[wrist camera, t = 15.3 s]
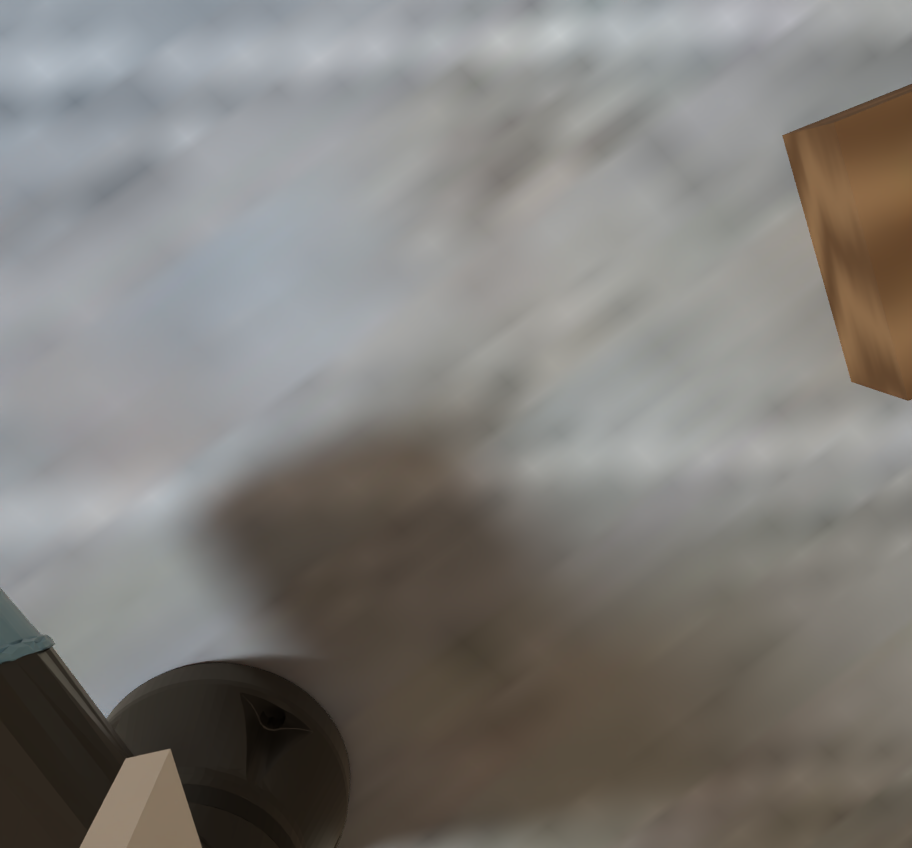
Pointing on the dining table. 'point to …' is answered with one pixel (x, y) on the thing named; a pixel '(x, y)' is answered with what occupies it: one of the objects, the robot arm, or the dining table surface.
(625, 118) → the dining table surface
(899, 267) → the walnut block
